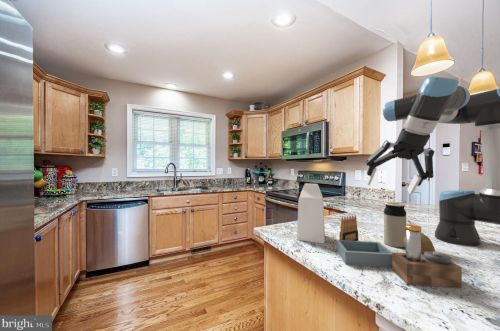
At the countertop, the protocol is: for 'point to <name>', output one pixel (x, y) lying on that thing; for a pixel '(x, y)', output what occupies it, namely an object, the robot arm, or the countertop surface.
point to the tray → (364, 253)
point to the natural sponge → (423, 244)
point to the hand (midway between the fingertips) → (388, 187)
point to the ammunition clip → (349, 229)
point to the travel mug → (394, 224)
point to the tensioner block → (428, 270)
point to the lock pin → (413, 243)
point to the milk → (311, 215)
